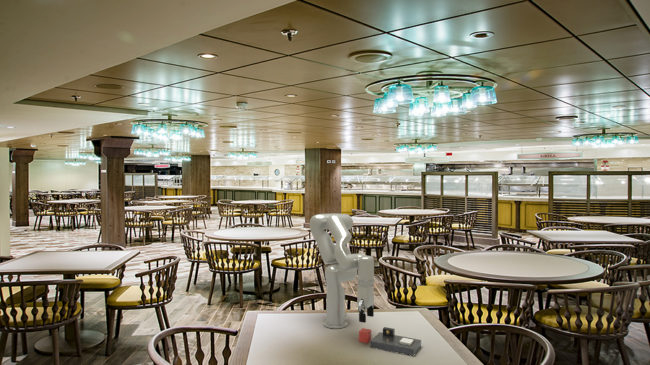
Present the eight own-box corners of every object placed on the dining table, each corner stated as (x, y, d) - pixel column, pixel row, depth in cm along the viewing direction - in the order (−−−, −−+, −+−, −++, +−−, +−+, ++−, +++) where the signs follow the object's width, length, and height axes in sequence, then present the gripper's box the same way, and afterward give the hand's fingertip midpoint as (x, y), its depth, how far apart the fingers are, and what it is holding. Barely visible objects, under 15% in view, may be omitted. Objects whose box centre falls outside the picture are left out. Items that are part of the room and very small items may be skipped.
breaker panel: (379, 338, 203) (379, 325, 203) (421, 346, 194) (421, 333, 194) (370, 347, 193) (370, 334, 193) (413, 356, 183) (413, 342, 183)
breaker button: (402, 344, 194) (402, 337, 194) (413, 346, 192) (413, 339, 192) (399, 348, 190) (399, 341, 190) (410, 350, 188) (410, 343, 188)
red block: (362, 338, 203) (362, 328, 203) (371, 340, 201) (371, 329, 201) (359, 341, 199) (359, 331, 199) (367, 343, 197) (367, 332, 197)
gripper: (365, 278, 209) (365, 313, 209) (351, 285, 194) (351, 323, 194) (380, 279, 206) (380, 315, 205) (366, 287, 190) (366, 325, 190)
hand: (366, 319), depth 199 cm, fingers open, 9 cm apart
